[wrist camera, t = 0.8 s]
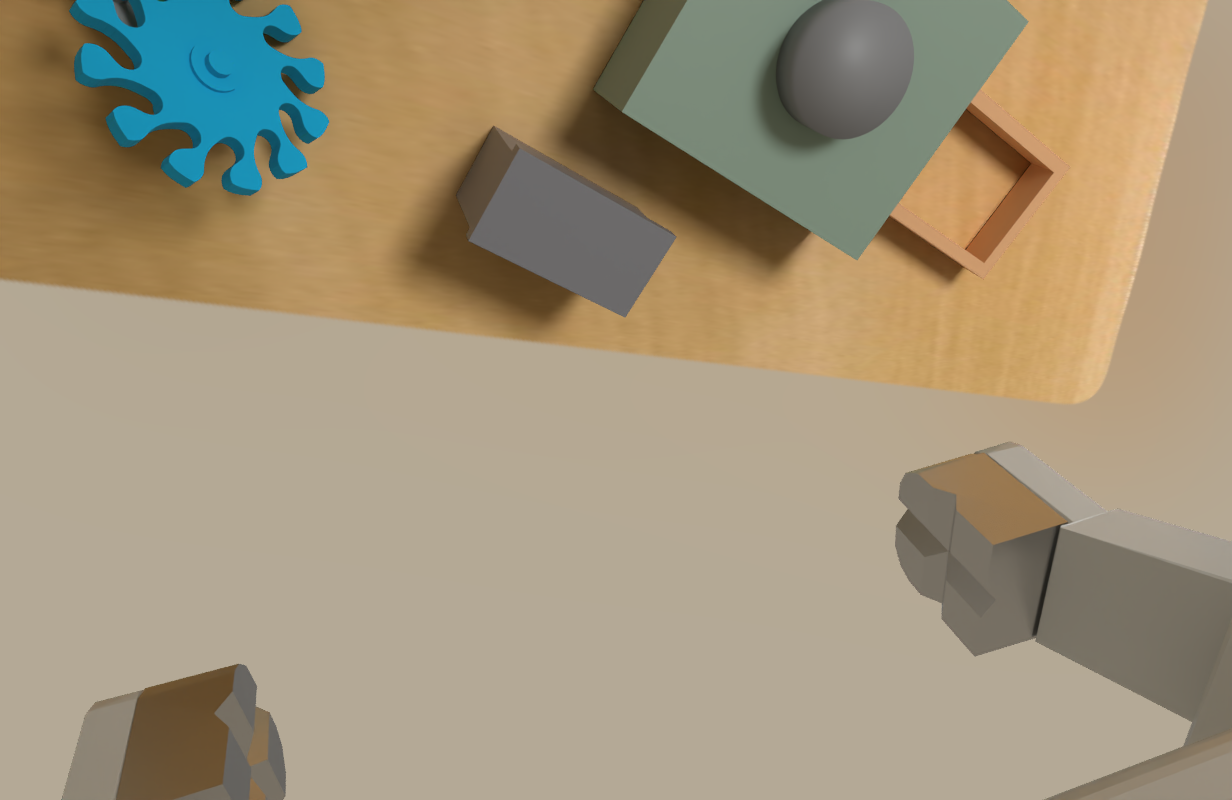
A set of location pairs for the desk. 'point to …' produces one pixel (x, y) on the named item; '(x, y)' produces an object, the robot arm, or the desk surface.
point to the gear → (204, 82)
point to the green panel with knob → (830, 105)
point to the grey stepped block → (559, 224)
